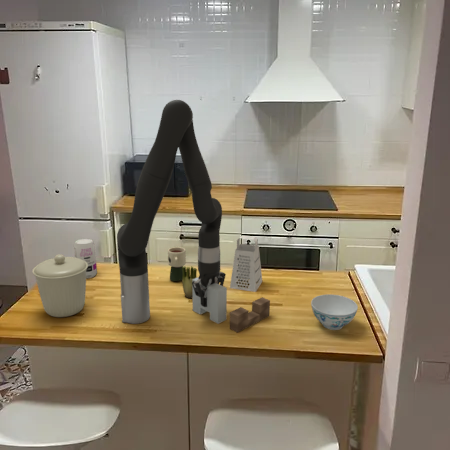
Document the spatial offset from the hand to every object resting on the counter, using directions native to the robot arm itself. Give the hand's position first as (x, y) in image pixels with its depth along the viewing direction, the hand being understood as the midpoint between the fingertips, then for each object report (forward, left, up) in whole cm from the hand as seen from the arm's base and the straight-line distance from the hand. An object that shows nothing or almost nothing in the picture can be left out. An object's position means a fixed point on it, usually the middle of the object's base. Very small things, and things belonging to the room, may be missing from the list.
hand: (209, 303), depth 161 cm
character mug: (-9, +32, -4) cm, 34 cm away
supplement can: (-46, +42, -4) cm, 62 cm away
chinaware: (+40, -13, -5) cm, 42 cm away
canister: (-50, +11, -5) cm, 51 cm away
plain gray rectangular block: (0, 0, -4) cm, 4 cm away
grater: (+18, +23, -5) cm, 30 cm away
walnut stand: (+13, -7, -4) cm, 15 cm away
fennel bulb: (-5, +16, -5) cm, 17 cm away
